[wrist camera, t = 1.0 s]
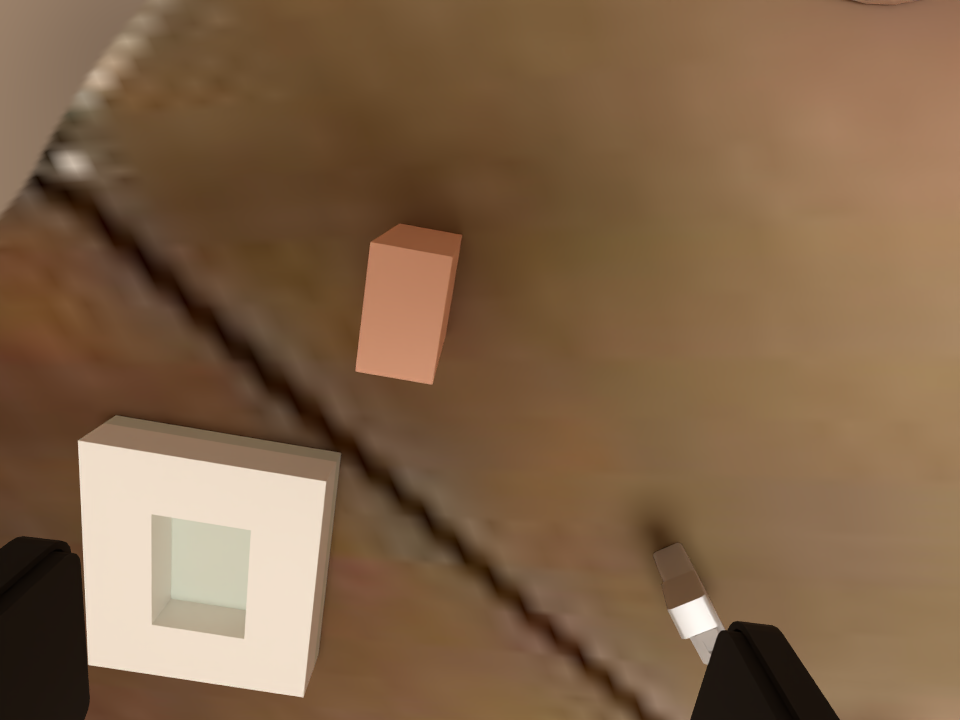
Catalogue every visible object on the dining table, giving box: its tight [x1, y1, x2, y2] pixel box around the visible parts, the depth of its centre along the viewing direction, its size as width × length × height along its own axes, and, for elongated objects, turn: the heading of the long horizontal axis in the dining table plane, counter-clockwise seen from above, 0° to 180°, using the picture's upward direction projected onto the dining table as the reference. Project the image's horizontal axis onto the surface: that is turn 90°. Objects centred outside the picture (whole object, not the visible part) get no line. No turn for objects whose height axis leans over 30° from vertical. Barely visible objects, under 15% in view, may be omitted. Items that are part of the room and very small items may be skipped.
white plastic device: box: [653, 543, 725, 664], centre depth 29 cm, size 7×2×8 cm, turn 29°
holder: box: [78, 415, 341, 697], centre depth 32 cm, size 14×12×3 cm
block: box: [356, 224, 462, 384], centre depth 25 cm, size 5×3×7 cm, turn 170°
